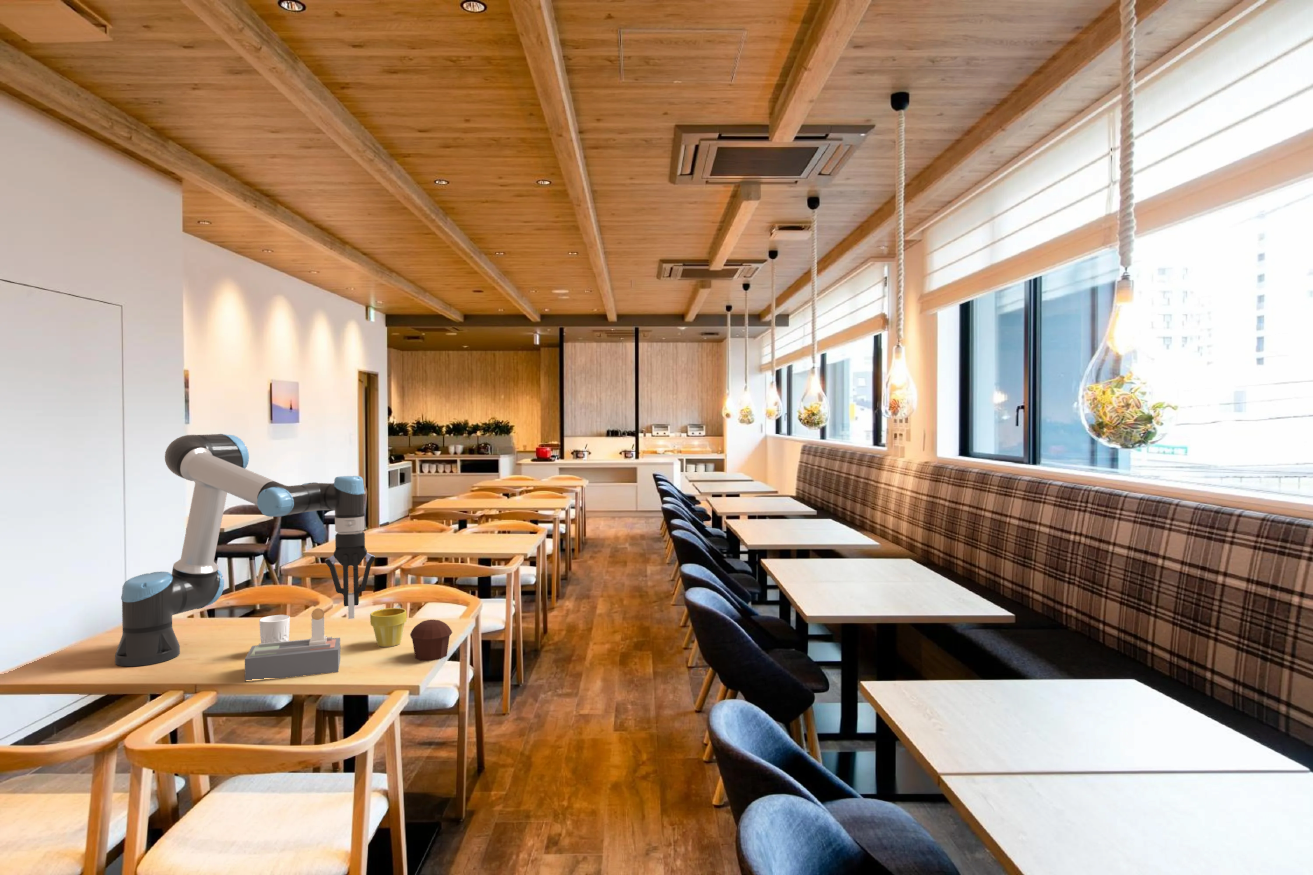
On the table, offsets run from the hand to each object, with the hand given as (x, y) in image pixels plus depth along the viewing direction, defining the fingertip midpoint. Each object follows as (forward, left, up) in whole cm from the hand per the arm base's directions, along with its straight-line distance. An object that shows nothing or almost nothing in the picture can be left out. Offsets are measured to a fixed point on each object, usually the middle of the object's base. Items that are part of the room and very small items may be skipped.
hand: (351, 617), depth 203 cm
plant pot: (-16, +10, -13) cm, 23 cm away
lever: (0, -8, -7) cm, 11 cm away
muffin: (0, +21, -13) cm, 25 cm away
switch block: (0, -14, -13) cm, 19 cm away
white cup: (-19, -21, -13) cm, 32 cm away
